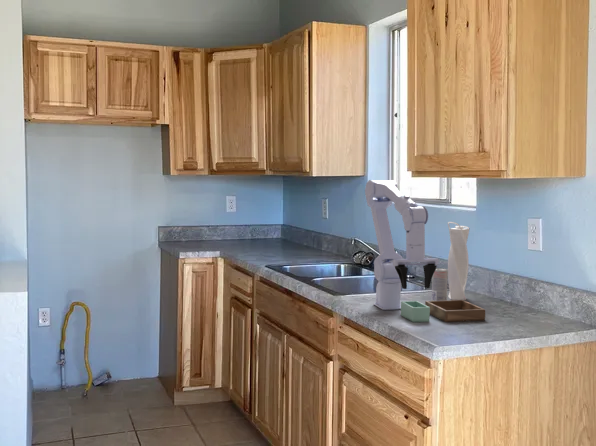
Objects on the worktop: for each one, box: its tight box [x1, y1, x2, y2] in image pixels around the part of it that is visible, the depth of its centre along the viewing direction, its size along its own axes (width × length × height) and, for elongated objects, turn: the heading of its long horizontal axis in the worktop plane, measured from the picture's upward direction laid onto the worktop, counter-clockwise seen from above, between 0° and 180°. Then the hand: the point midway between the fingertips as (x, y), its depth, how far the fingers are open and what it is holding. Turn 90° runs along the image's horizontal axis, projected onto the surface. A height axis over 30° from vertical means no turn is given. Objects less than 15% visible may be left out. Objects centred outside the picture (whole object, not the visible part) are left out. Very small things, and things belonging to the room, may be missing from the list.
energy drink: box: [430, 267, 449, 301], centre depth 241 cm, size 5×5×12 cm
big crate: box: [424, 299, 486, 323], centre depth 221 cm, size 15×13×4 cm
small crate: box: [400, 300, 430, 323], centre depth 217 cm, size 10×6×4 cm, turn 13°
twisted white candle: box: [447, 221, 470, 301], centre depth 249 cm, size 8×7×28 cm
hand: (415, 288), depth 216 cm, fingers open, 7 cm apart
